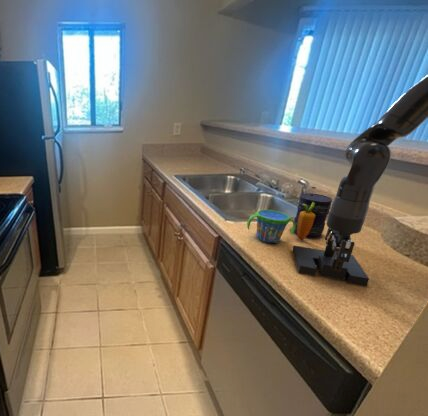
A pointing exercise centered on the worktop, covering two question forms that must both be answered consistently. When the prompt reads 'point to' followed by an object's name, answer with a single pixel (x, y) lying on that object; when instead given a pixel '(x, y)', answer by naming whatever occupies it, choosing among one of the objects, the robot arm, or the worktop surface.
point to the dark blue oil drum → (319, 210)
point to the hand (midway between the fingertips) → (331, 263)
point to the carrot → (305, 221)
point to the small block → (325, 268)
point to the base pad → (309, 257)
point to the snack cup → (271, 225)
